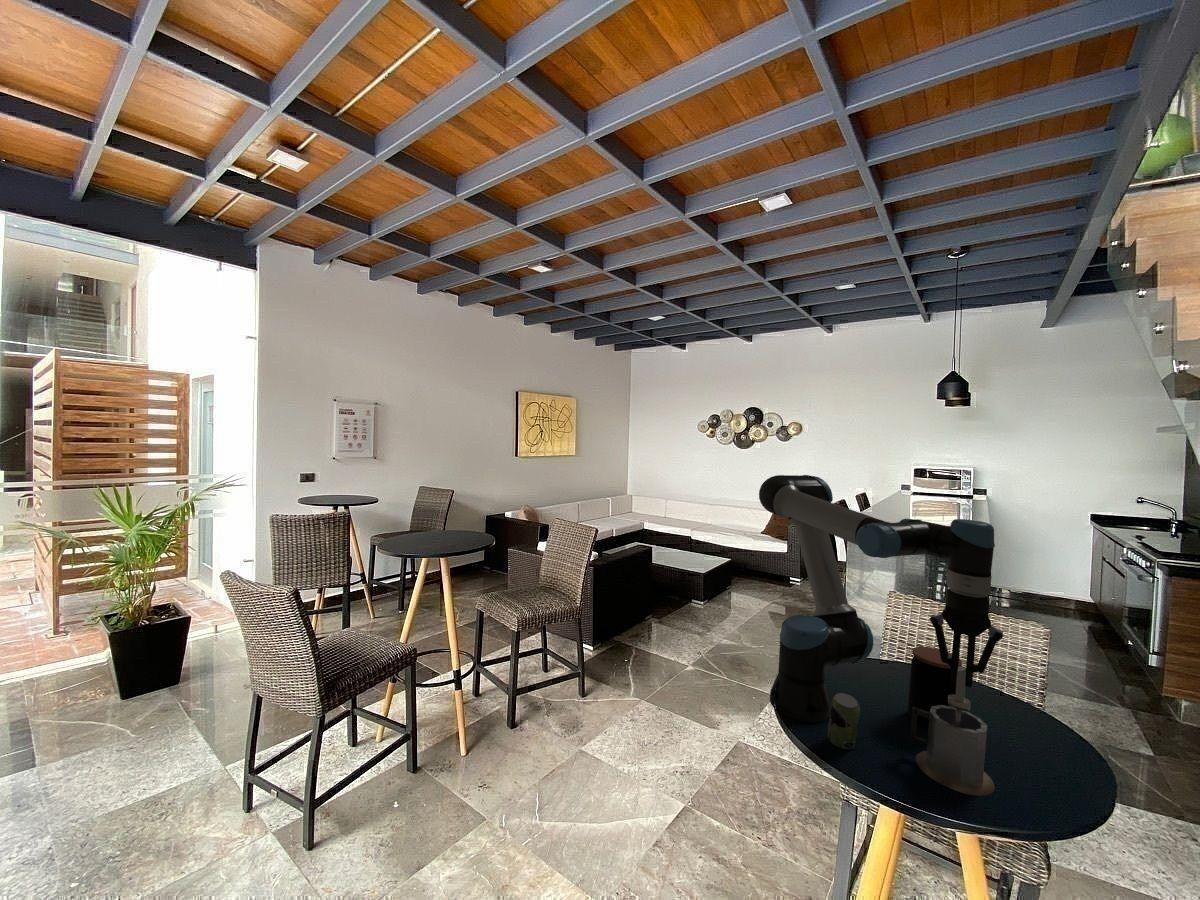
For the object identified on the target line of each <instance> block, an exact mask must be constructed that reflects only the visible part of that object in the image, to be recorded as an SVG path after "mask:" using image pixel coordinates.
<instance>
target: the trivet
mask: <svg viewBox="0 0 1200 900" xmlns="http://www.w3.org/2000/svg"><path fill="white" fill-rule="evenodd" d="M926 754H927V750H923V751H920V752H918V753H917V754H916V756H915V762H916V764H917V766H918V767H919V769H920V770H921V771H922V772H923V773H924V774H925V775H927V776H928V777H929V778H930V779H932V780H933V781H935V782H937V783H938V784H940V785H942V786H944V787H946V788H948V789H950V790H953V791H955V792H958V793H959V792H960V793H962V794H966V795H971V796H976V797H978V796H979V797H980V796H981V797H983V796H989V795H991V794H992V793H993V794H994V792H995V783H994V781H993V780H992V778H991V777H990V776H989V775H988V773H986V772H985V771H984V774H983V786H982V787H979V788H975V789H971V788H965V787H959V786H957V785H954V784H952V783H949V782H947V781H944V780H943V779H941V778H940V777H939V776H937V775H936V774H934V773H933V772H932V771H931V770H930V769H929V767H928V766H927V765H926Z"/></svg>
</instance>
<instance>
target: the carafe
mask: <svg viewBox="0 0 1200 900" xmlns="http://www.w3.org/2000/svg"><path fill="white" fill-rule="evenodd" d="M955 713H956V708H954V707H952V706H944V705H937V706H932V707H931V709H930V712H928V711H925V710H922V709H919V708H916V707H914V706H913V707H912V716H911V718H910V729H909V730H910V731H909V741H911V742H913V743H917V744H918V745H921V746H923V747H926V751H927V754H926V765H927V766H928V767H929V769H930V770H931V771H932V772H933V773H934V774H936V775H937V776H939V777H940V778H941V779H943V780H944V781H947V782H949V783H952V784H954V785H957V786H959V787H965V788H971V789H975V788H979V787H982V786H983V774H984V772H985V771H984V770H985V759H986V746H987V734H988V725H987V723H986V722H984V721H983V719H981V718H980V717H978V716H977V715H975V714H972V713H970V712H969V711H962V710H961V723H960V727H957V726H954V725H955ZM917 715H920V716H923V717H926V718H929V728H928V729H927V731H928V732H927V738H924V737H921V736H918V735H917V728H918V727H917V725H918V724H917Z"/></svg>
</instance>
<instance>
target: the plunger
mask: <svg viewBox="0 0 1200 900" xmlns="http://www.w3.org/2000/svg"><path fill="white" fill-rule="evenodd" d="M948 704H949V705H950V706H952V707H954V708H956V713H955V725H954V726H957V727H960V723H961V710H962V711H967V712H969V711H971V705H972V703H971V701H970V699H968V698H966V697H965V698H964V702H961V701H958V700H955V695H954V694H951V695H948Z"/></svg>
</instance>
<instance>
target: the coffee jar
mask: <svg viewBox="0 0 1200 900" xmlns="http://www.w3.org/2000/svg"><path fill="white" fill-rule="evenodd" d="M911 651H912V652H911V654H912V655H913V656H912V659H911V662H910V675H909V677H910V678H909V689H908V701H907V702H908V703H907V714H908V717H909V718H910V719H911V716H912V707H913V706H914V707H916V708H919V709H922V710H925V711H928V712H930V709H931V707H932V706H937V705H944V706H950V705H949V704H948V695H951V694H954V695H956V683H954V682H951V680H950V675H951V667H950V666H949V665H948V664H946V663H943V662H942V660H941V656H940V651H939V648H935V647H930V646H915V647H913V648H912V650H911ZM948 655H949V657H950V658H952V652H949V651H948ZM962 664H963V661H962V659H961V658H960V657H959V665H958V666H960V667H963V665H962ZM917 725H919V726H920V727H922V728H924V729H926V730H928V728H929V718H926V717H923V716H920V715H917Z"/></svg>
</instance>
